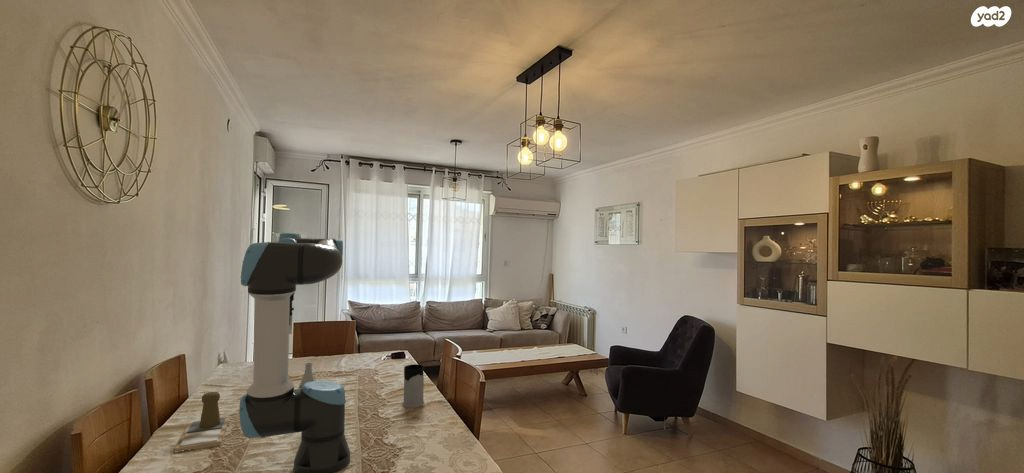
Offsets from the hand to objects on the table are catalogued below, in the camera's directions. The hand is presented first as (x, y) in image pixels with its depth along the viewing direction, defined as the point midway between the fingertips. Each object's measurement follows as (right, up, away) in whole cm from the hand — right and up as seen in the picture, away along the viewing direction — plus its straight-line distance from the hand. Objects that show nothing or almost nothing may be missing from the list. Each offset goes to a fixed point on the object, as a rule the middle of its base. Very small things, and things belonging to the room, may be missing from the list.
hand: (287, 331), depth 165 cm
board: (-19, -31, -18) cm, 40 cm away
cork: (-20, -30, -13) cm, 38 cm away
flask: (-9, -33, +36) cm, 50 cm away
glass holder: (+42, -33, +16) cm, 56 cm away
